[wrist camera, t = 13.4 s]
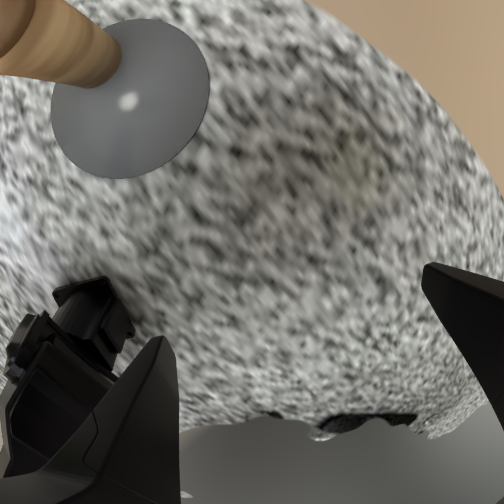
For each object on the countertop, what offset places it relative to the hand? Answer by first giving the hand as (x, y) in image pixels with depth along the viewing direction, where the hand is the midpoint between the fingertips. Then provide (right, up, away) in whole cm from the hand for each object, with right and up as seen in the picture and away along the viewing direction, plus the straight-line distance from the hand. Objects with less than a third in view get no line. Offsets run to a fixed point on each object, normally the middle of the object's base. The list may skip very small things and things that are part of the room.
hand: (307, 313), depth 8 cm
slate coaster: (-11, +13, +7) cm, 18 cm away
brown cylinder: (-13, +15, +5) cm, 20 cm away
